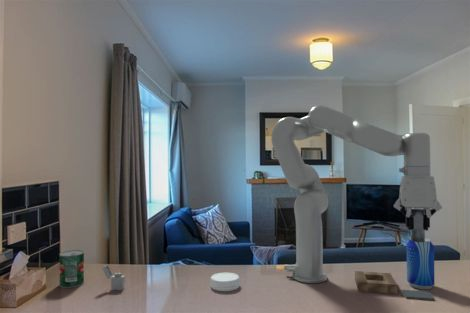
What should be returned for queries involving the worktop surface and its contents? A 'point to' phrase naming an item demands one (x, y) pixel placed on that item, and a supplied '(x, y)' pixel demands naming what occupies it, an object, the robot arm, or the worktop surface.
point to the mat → (418, 295)
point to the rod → (418, 225)
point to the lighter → (115, 279)
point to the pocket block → (375, 282)
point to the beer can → (420, 264)
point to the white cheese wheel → (225, 281)
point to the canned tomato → (71, 268)
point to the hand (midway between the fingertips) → (417, 228)
